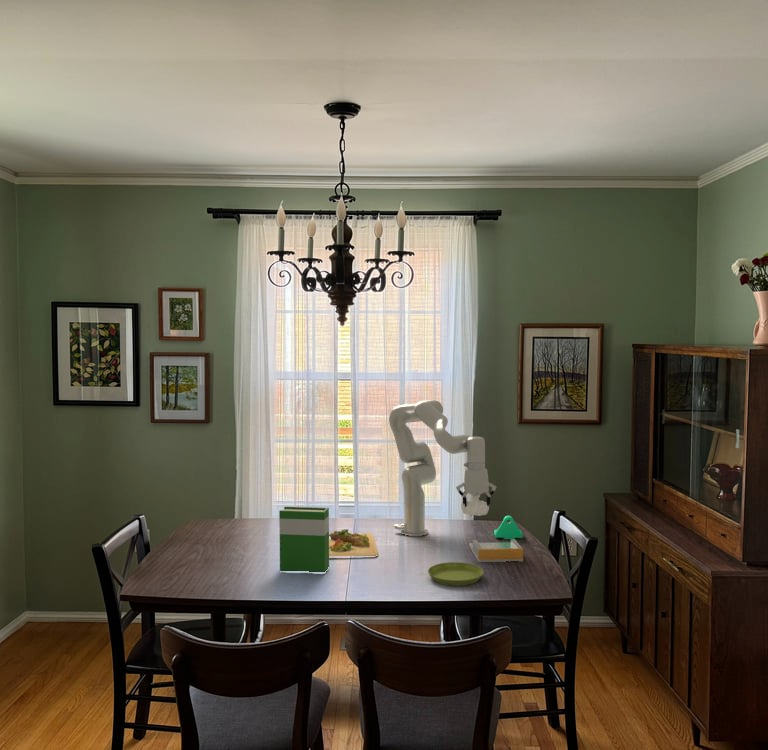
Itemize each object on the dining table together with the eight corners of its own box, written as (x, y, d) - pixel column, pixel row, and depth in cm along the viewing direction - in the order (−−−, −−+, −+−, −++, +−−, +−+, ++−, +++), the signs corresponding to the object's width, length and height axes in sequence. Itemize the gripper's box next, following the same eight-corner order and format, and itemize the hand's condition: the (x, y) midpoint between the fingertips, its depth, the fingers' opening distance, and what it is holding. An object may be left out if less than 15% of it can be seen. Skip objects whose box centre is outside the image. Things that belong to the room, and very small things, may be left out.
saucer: (448, 566, 272) (448, 558, 272) (494, 577, 259) (494, 569, 259) (416, 580, 256) (416, 572, 256) (463, 592, 243) (463, 583, 243)
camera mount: (520, 535, 317) (520, 513, 317) (522, 540, 310) (522, 517, 309) (494, 535, 318) (494, 513, 318) (495, 539, 311) (495, 517, 310)
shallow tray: (478, 562, 277) (478, 549, 277) (468, 545, 301) (468, 533, 301) (523, 561, 278) (523, 549, 278) (509, 544, 302) (509, 533, 302)
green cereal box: (279, 572, 265) (279, 510, 264) (285, 566, 273) (284, 506, 272) (324, 574, 263) (324, 512, 262) (329, 568, 270) (328, 507, 269)
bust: (488, 520, 295) (488, 495, 302) (489, 512, 289) (489, 488, 296) (460, 518, 297) (461, 494, 303) (460, 511, 291) (461, 486, 297)
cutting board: (378, 559, 284) (378, 541, 284) (321, 561, 282) (321, 542, 282) (373, 536, 319) (373, 520, 318) (322, 537, 317) (322, 521, 317)
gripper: (456, 467, 291) (457, 508, 291) (497, 467, 291) (498, 507, 292) (454, 464, 298) (455, 504, 299) (494, 464, 298) (495, 503, 299)
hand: (476, 505), depth 295 cm, fingers closed on bust, 9 cm apart
